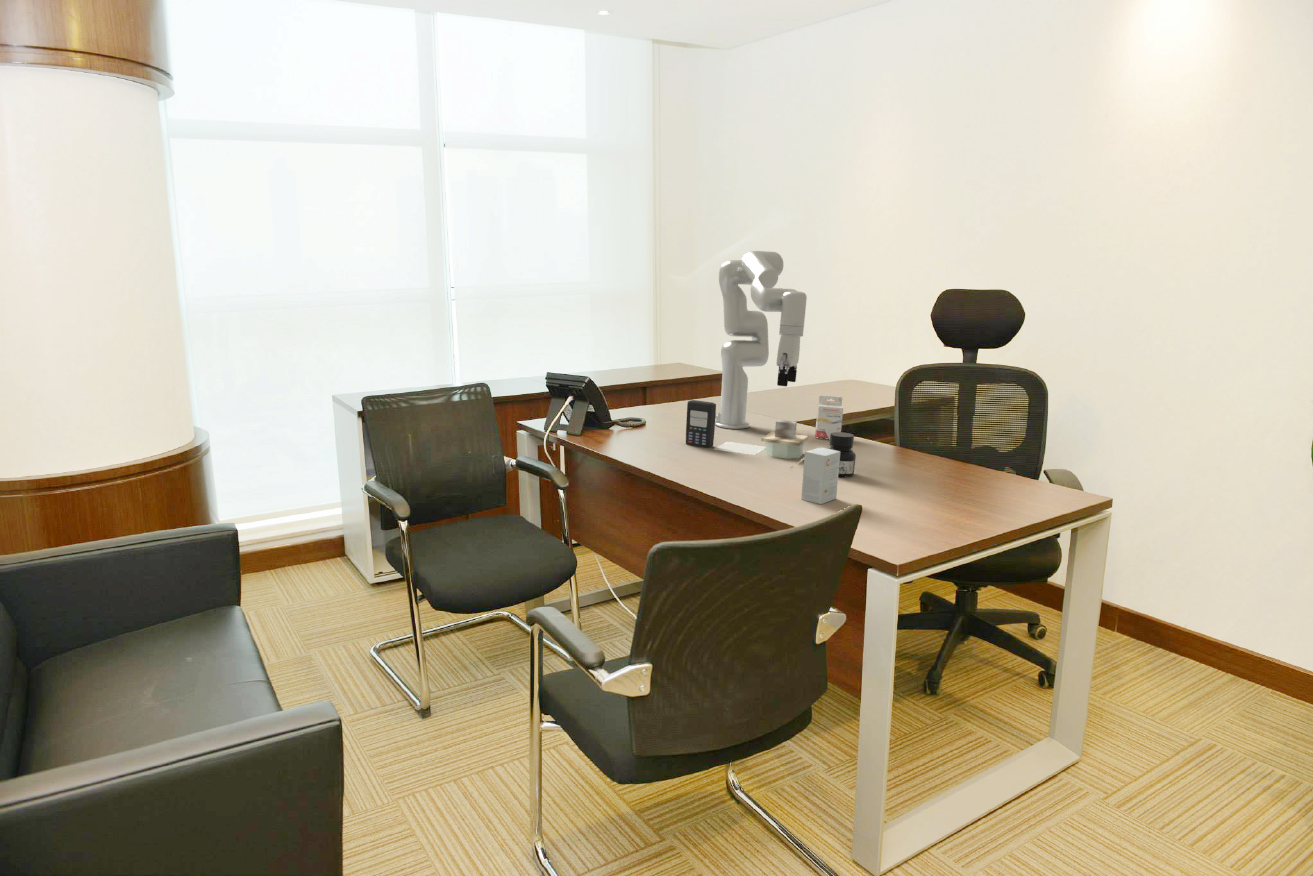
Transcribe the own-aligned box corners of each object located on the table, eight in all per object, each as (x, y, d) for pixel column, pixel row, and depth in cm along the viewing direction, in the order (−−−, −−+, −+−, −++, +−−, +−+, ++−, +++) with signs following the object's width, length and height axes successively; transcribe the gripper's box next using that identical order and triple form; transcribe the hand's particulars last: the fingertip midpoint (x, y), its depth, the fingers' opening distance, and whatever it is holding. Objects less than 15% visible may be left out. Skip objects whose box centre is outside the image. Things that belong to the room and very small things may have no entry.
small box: (815, 493, 231) (819, 446, 228) (836, 498, 227) (841, 451, 225) (800, 499, 225) (804, 451, 222) (821, 504, 221) (825, 455, 218)
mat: (712, 450, 276) (713, 449, 276) (727, 442, 289) (727, 441, 288) (754, 456, 271) (754, 455, 270) (767, 448, 283) (767, 446, 283)
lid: (761, 441, 270) (762, 422, 269) (771, 434, 281) (773, 416, 280) (798, 446, 265) (800, 427, 264) (807, 439, 276) (809, 420, 275)
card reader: (683, 445, 281) (685, 400, 278) (688, 443, 285) (691, 399, 282) (709, 449, 277) (711, 404, 274) (714, 447, 281) (716, 402, 277)
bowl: (762, 456, 271) (763, 441, 270) (771, 449, 281) (772, 435, 280) (796, 461, 267) (797, 445, 266) (804, 454, 277) (806, 439, 276)
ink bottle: (819, 475, 251) (823, 435, 249) (824, 468, 259) (828, 430, 257) (853, 479, 248) (857, 439, 245) (857, 473, 256) (861, 433, 254)
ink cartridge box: (815, 438, 302) (819, 397, 299) (814, 435, 307) (818, 395, 304) (840, 440, 301) (844, 399, 298) (839, 437, 306) (842, 396, 303)
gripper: (787, 327, 282) (782, 378, 286) (772, 331, 266) (767, 386, 271) (809, 329, 279) (804, 381, 283) (795, 334, 263) (790, 389, 268)
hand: (786, 383), depth 277 cm, fingers open, 9 cm apart
